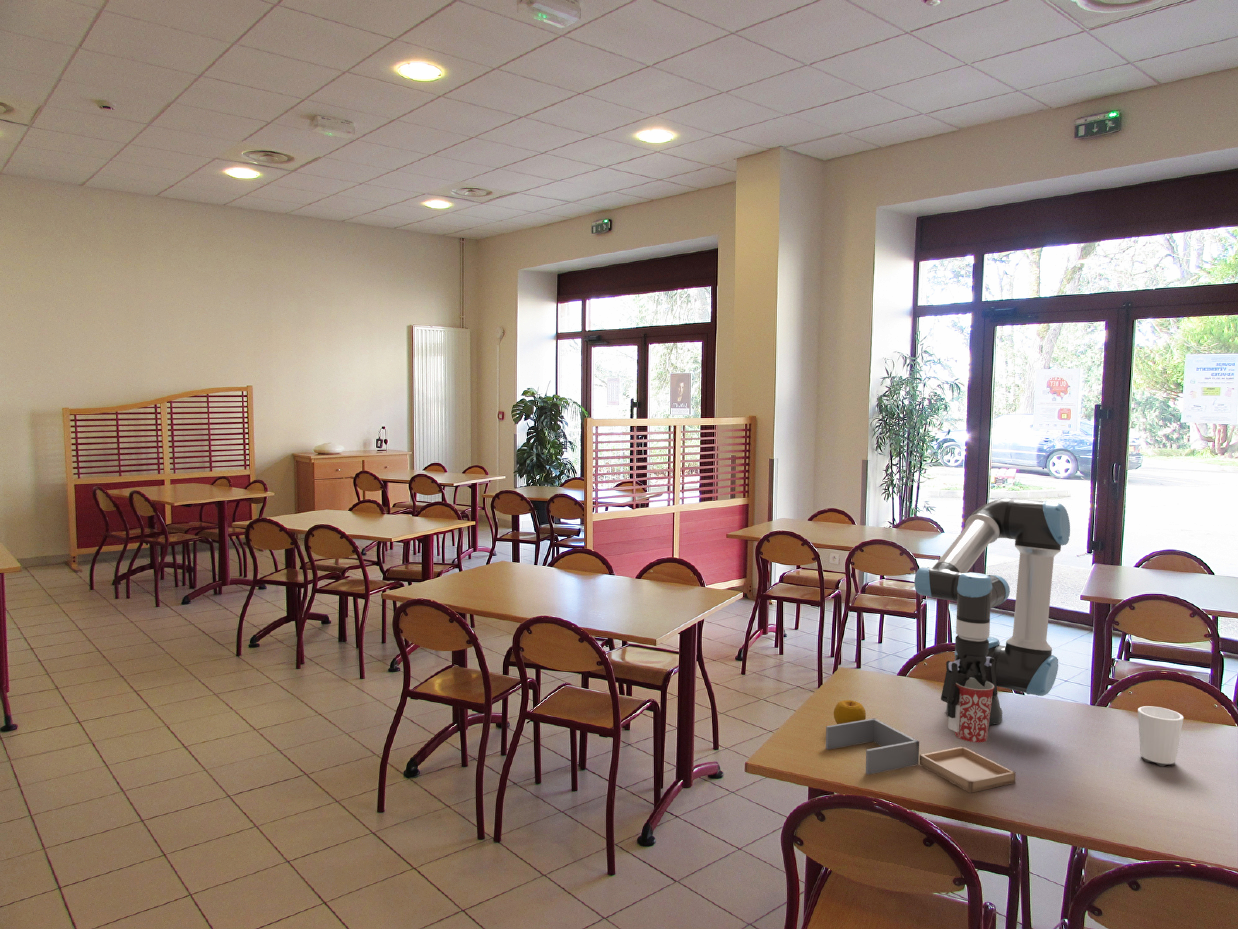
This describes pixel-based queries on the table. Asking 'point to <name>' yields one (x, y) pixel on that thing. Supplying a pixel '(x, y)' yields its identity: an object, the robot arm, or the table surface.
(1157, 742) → the cup
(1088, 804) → the table surface
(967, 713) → the mug
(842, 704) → the apple
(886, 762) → the bay
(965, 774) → the tray
